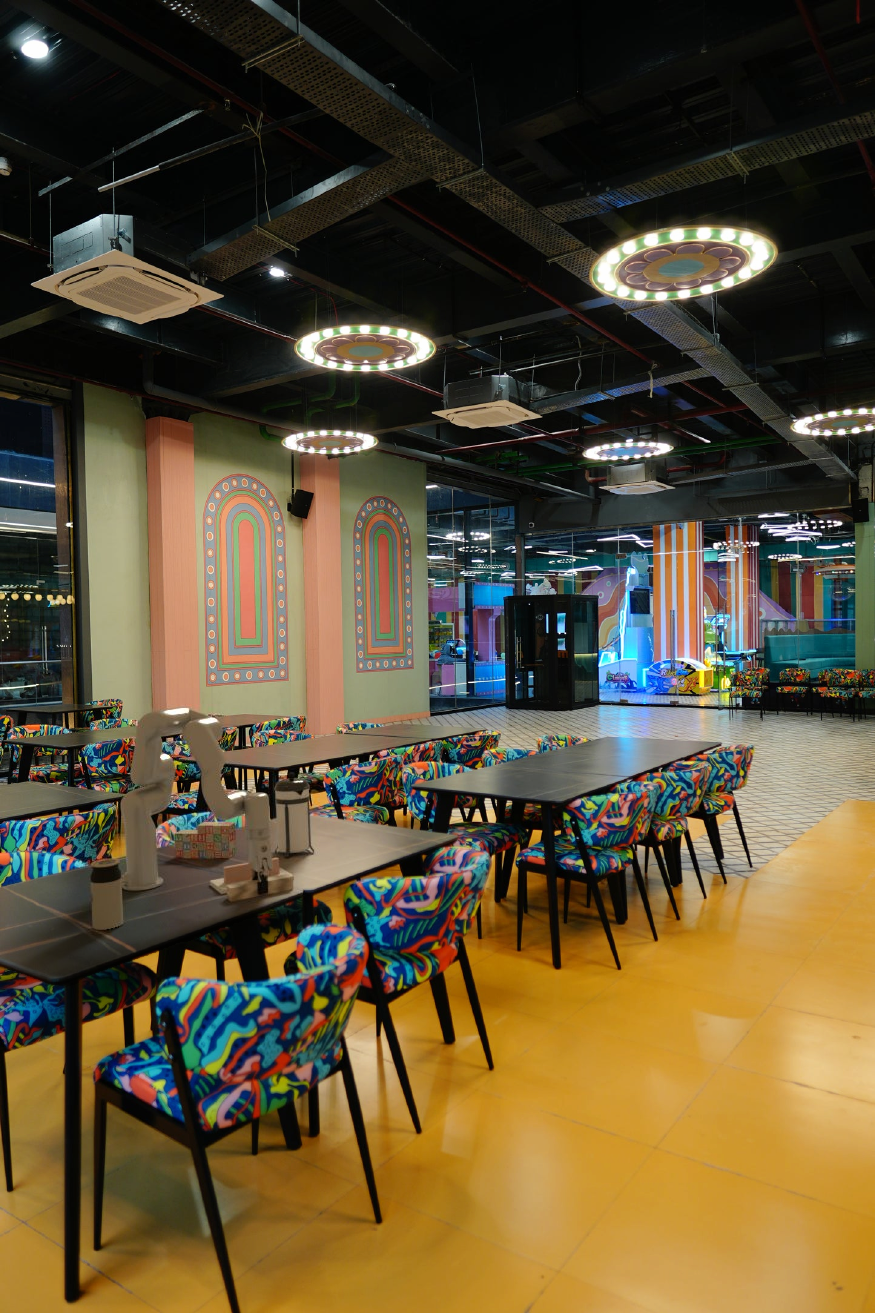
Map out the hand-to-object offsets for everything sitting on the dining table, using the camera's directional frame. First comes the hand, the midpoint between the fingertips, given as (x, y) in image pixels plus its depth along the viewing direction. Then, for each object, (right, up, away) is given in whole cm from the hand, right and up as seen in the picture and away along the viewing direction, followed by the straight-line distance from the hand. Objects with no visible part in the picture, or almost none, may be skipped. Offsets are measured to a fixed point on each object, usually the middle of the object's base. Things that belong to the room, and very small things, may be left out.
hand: (260, 891), depth 258 cm
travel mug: (-37, -3, -25) cm, 45 cm away
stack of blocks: (-31, -1, +49) cm, 58 cm away
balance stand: (-5, -1, +12) cm, 13 cm away
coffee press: (+1, 0, +49) cm, 49 cm away
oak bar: (0, -1, 0) cm, 1 cm away
